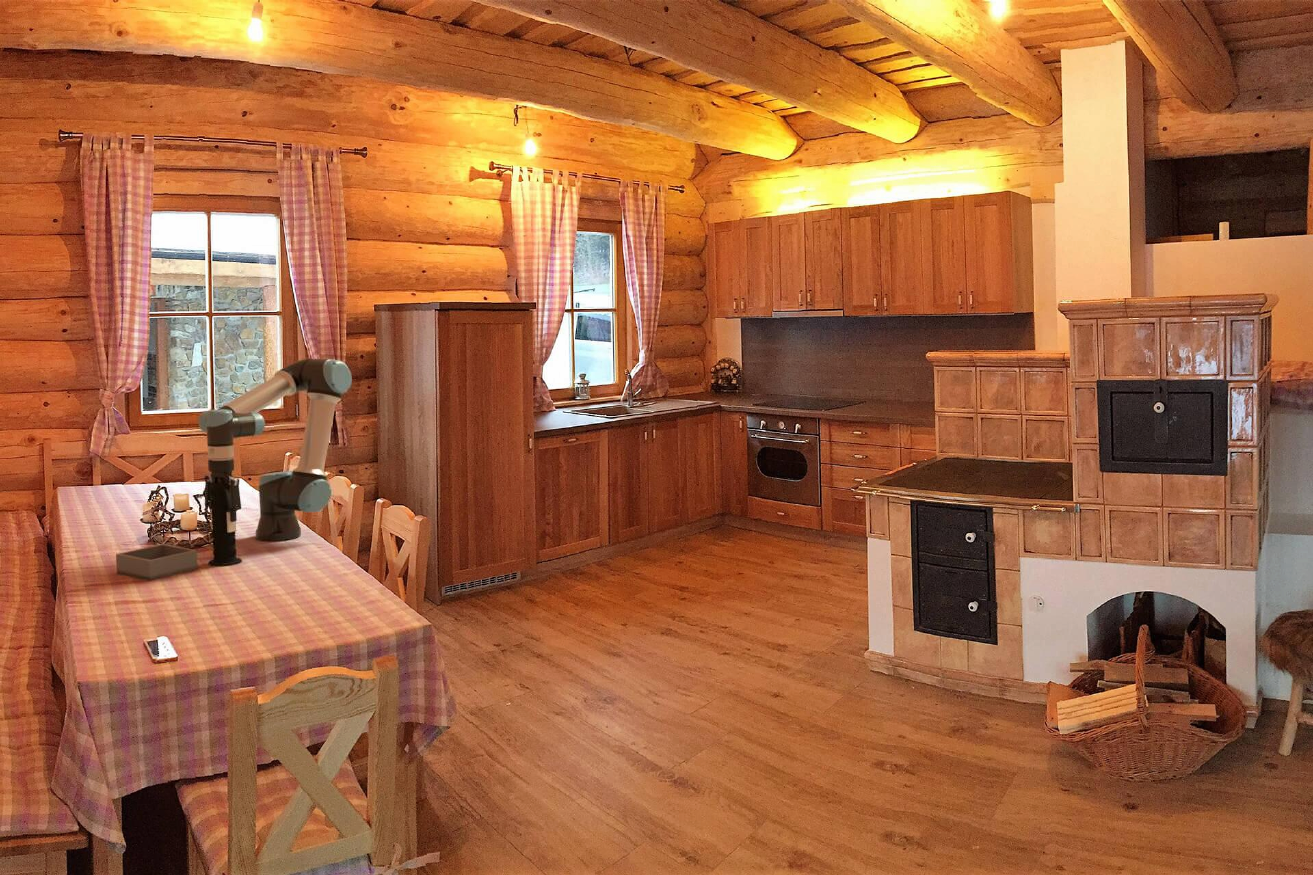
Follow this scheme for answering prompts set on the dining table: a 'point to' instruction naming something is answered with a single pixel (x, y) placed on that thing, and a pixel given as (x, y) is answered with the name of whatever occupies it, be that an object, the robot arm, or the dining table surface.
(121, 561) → the box
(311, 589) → the dining table surface
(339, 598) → the dining table surface
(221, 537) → the handle grip
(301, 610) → the dining table surface
